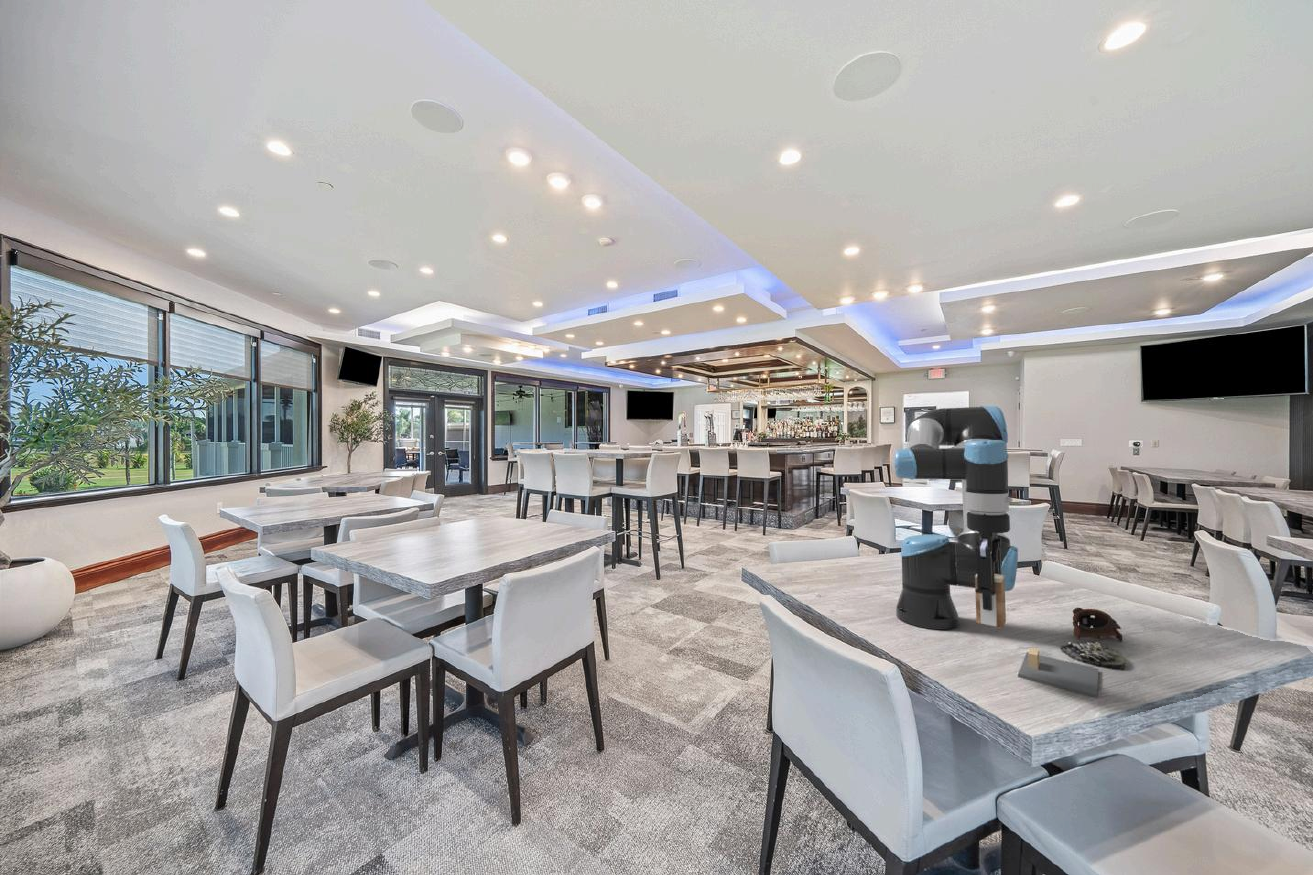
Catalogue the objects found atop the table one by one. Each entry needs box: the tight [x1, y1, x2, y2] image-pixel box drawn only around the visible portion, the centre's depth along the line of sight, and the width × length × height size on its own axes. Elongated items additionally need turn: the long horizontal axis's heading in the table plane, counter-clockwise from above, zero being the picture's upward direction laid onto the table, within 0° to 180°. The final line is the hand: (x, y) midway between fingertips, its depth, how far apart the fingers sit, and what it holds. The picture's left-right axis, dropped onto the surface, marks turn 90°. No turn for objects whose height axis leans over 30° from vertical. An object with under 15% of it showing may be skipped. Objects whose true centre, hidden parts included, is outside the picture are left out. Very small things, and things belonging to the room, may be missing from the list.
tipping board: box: [1017, 647, 1099, 698], centre depth 98 cm, size 12×14×4 cm
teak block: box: [974, 574, 1007, 629], centre depth 99 cm, size 4×4×10 cm
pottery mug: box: [1072, 607, 1123, 643], centre depth 116 cm, size 12×10×8 cm
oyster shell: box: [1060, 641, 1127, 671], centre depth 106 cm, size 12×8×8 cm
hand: (991, 620), depth 99 cm, fingers closed on teak block, 4 cm apart
